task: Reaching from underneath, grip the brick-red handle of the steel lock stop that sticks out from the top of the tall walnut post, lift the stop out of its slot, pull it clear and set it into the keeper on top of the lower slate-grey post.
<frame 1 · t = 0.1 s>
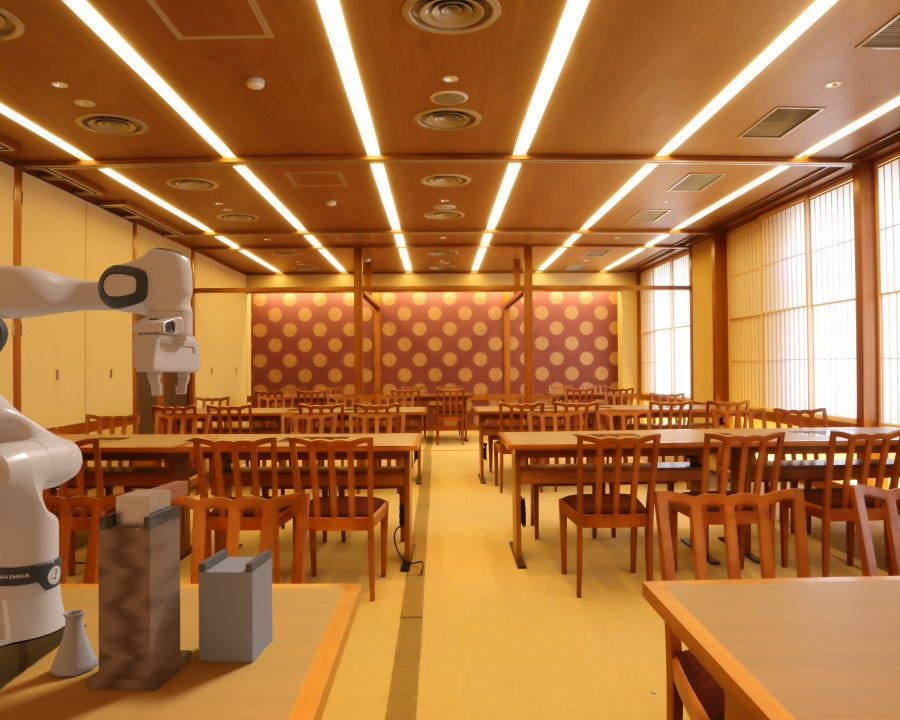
hand: (169, 394, 132), 48 cm above the table, tool pointing down, fingers open, 8 cm apart
tall post: (141, 672, 113), on the table
lock stop: (143, 521, 114), point 26 cm above the table, touching tall post
flask: (74, 670, 115), on the table
grey post: (237, 650, 121), on the table
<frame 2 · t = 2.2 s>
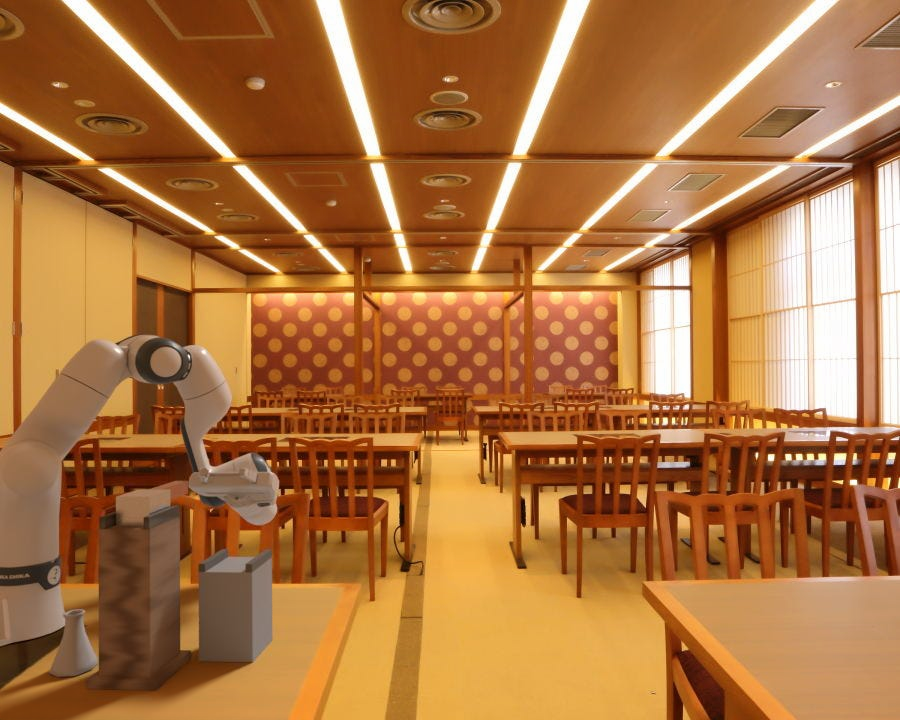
hand: (221, 471, 146), 30 cm above the table, tool pointing upward, fingers open, 8 cm apart
nothing on the table moved.
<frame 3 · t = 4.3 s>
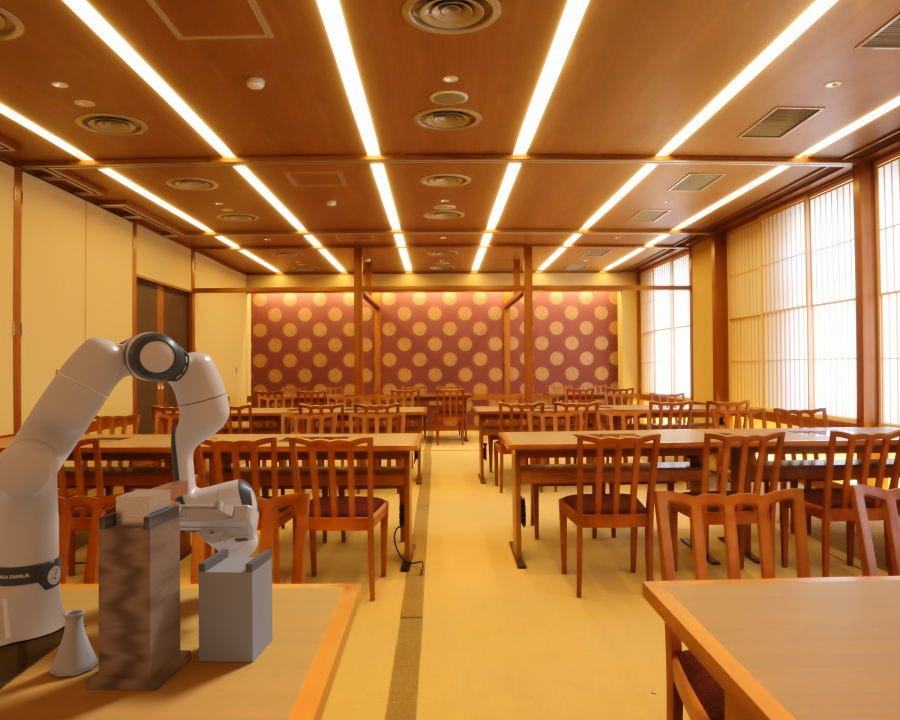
hand: (194, 504, 133), 25 cm above the table, tool pointing upward, fingers open, 8 cm apart
nothing on the table moved.
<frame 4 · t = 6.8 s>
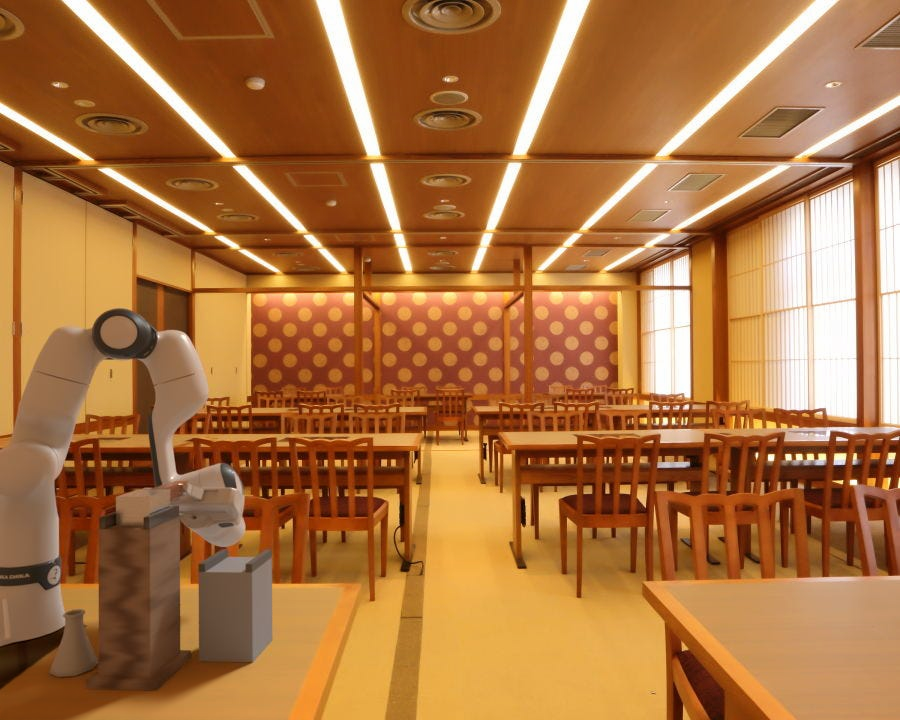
hand: (174, 487, 125), 30 cm above the table, tool pointing upward, fingers closed on lock stop, 2 cm apart
lock stop: (144, 521, 114), point 26 cm above the table, touching gripper, tall post
everything else where it was.
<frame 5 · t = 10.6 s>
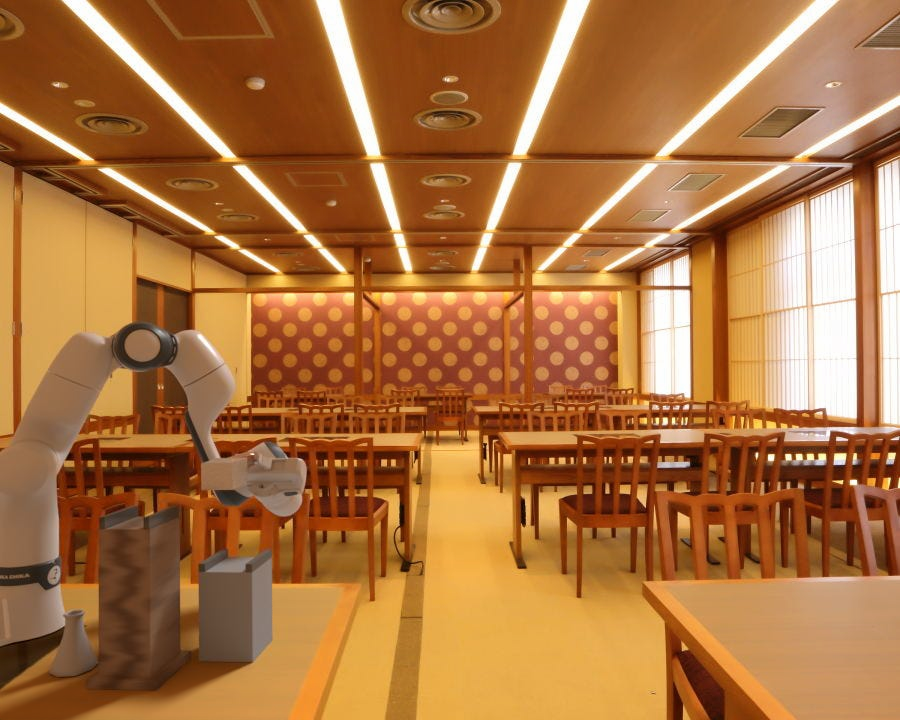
hand: (246, 457, 135), 35 cm above the table, tool pointing upward, fingers closed on lock stop, 2 cm apart
lock stop: (225, 486, 124), point 30 cm above the table, touching gripper
everything else where it was.
when the fingers open (21 cm above the table, at t = 14.3 s): lock stop stays where it is, resting on grey post.
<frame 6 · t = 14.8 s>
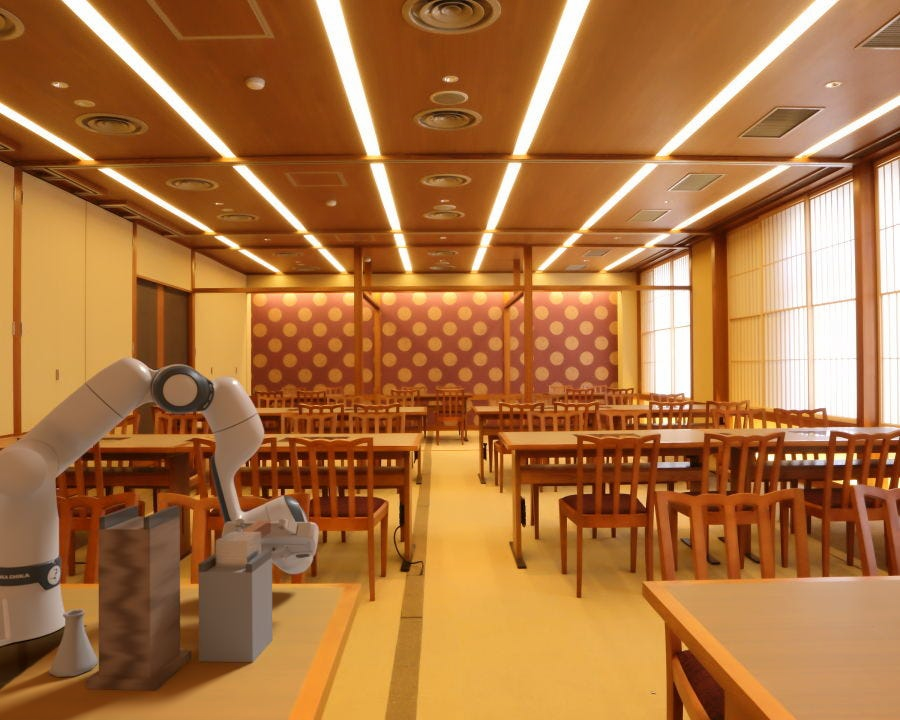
hand: (259, 522, 134), 21 cm above the table, tool pointing upward, fingers open, 8 cm apart
lock stop: (239, 562, 123), point 16 cm above the table, touching grey post
everything else where it was.
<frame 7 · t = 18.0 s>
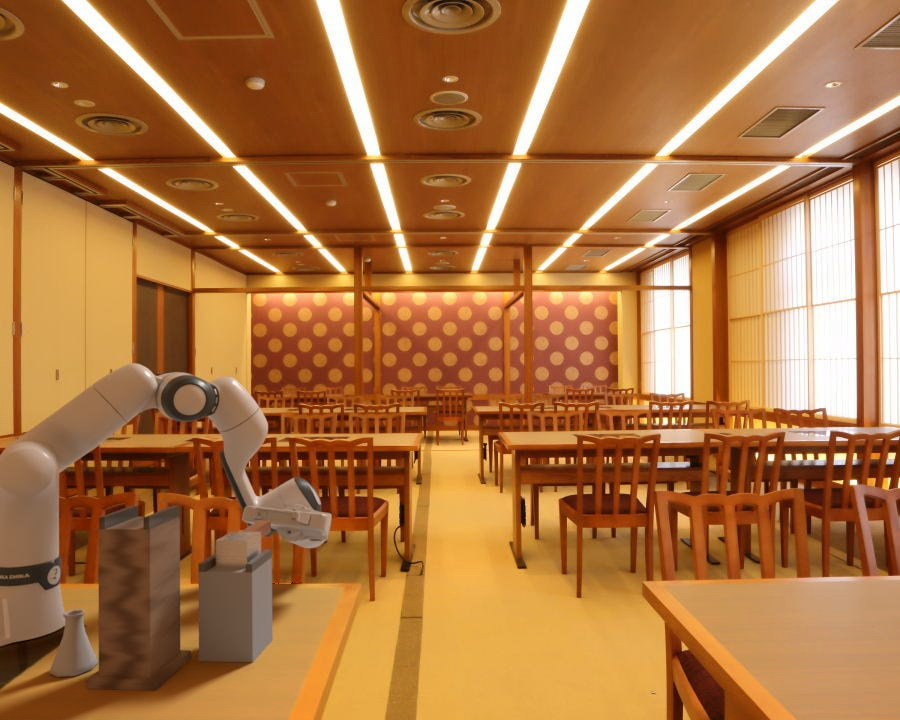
hand: (275, 513, 144), 21 cm above the table, tool pointing upward, fingers open, 8 cm apart
nothing on the table moved.
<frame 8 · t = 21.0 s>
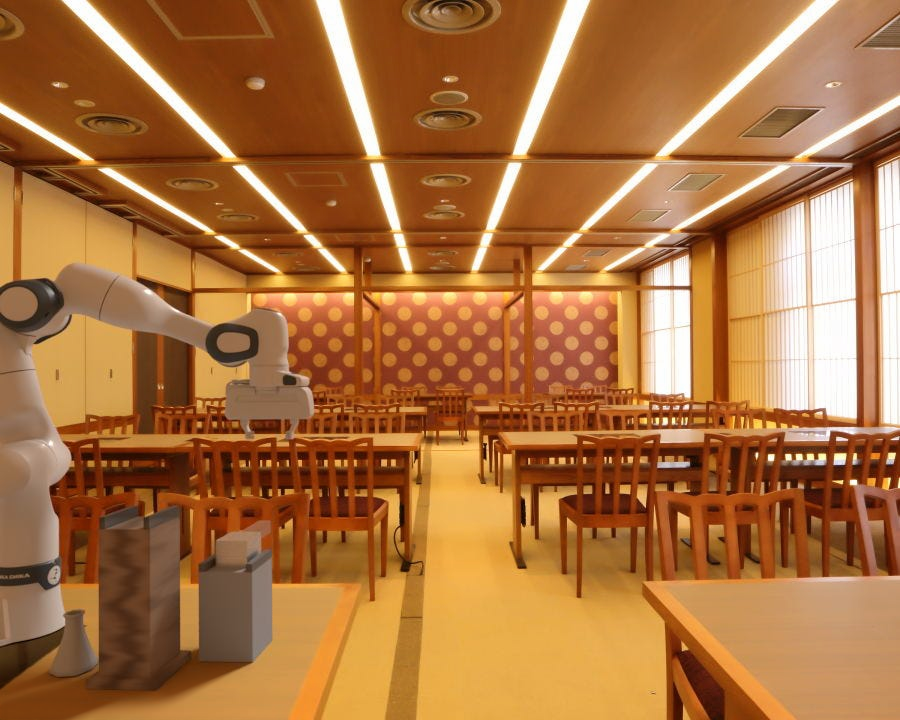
hand: (269, 439, 149), 37 cm above the table, tool pointing down, fingers open, 8 cm apart
nothing on the table moved.
at the end: lock stop 0.7 cm off-centre on the grey post, point 16.0 cm above the grey post's base; lock stop tilted 0°; the gripper is holding nothing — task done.
